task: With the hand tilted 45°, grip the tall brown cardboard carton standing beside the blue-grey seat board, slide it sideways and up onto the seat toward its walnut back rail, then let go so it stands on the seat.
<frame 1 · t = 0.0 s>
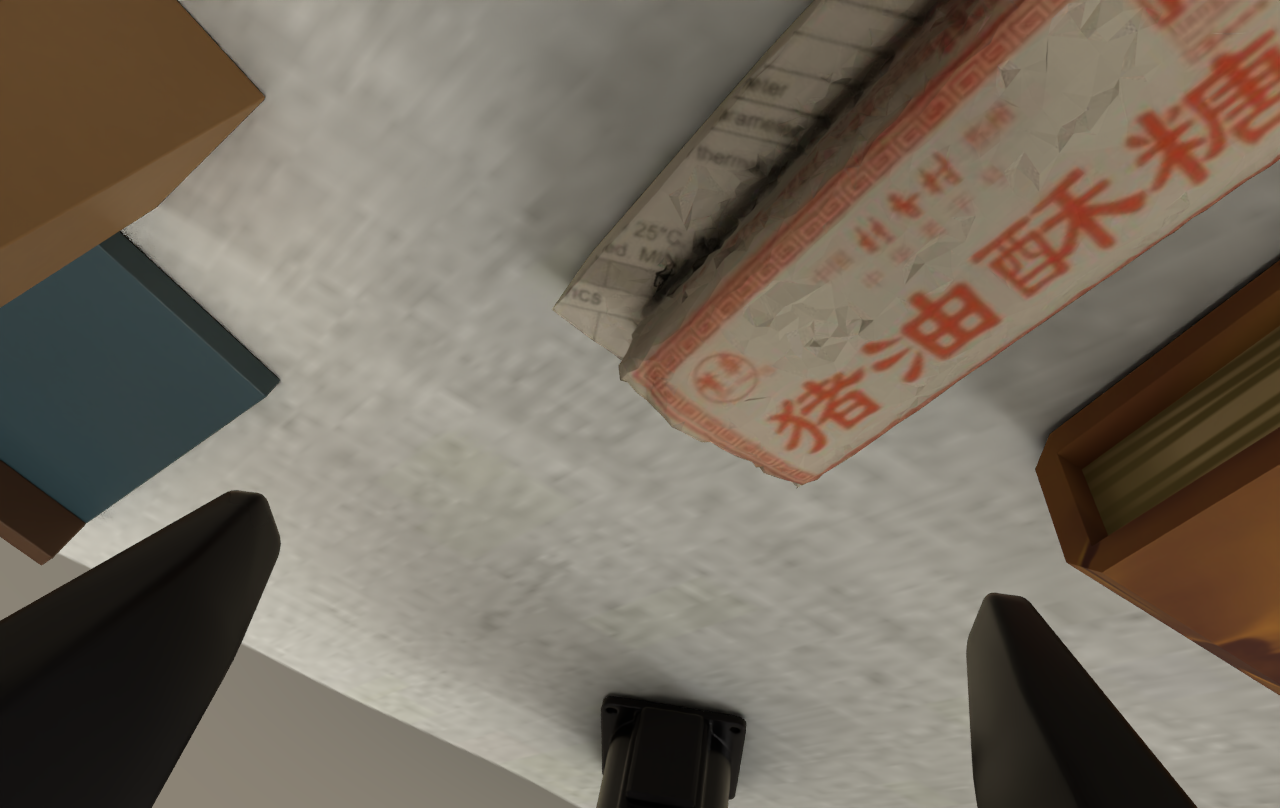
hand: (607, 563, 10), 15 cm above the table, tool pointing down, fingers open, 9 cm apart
cardboard carton: (137, 83, 23), on the table
packaged product: (906, 175, 22), on the table
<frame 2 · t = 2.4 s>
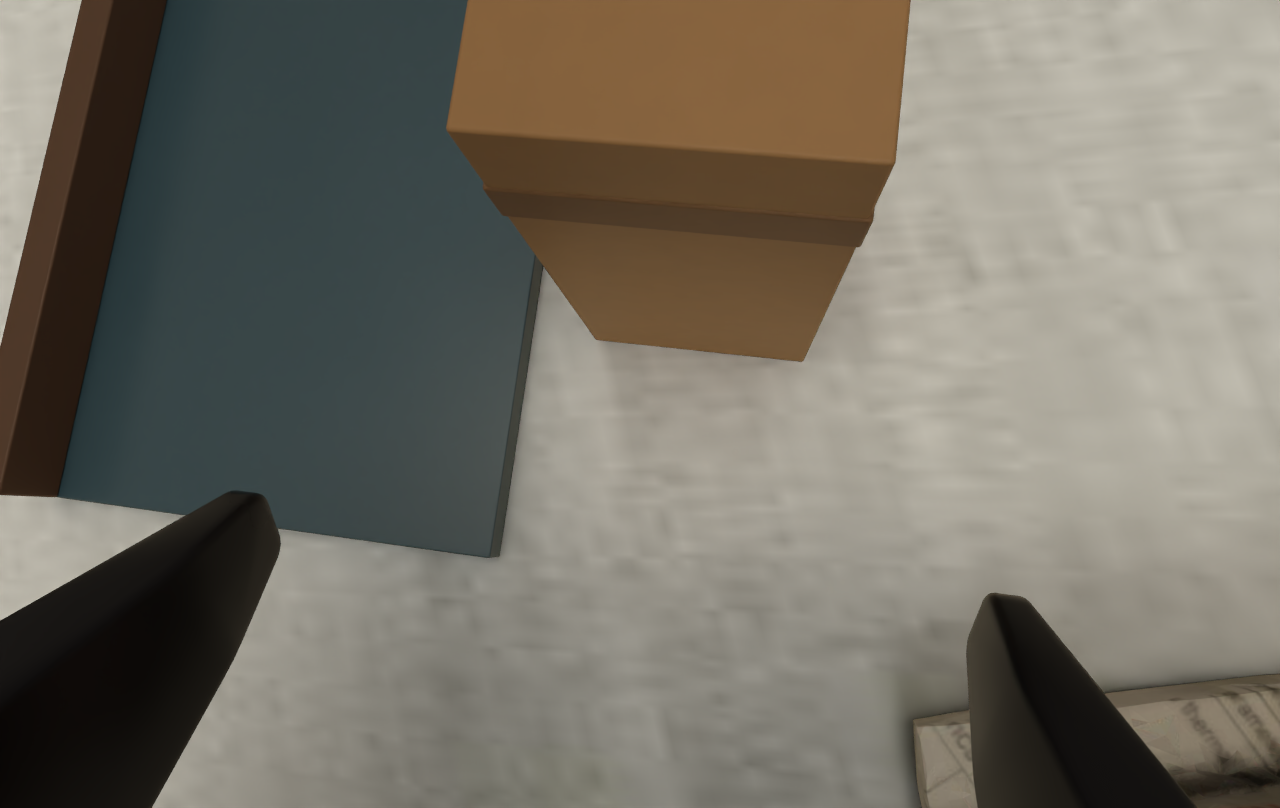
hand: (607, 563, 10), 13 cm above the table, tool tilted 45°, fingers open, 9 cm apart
cardboard carton: (708, 267, 24), on the table
seat board: (330, 200, 26), on the table
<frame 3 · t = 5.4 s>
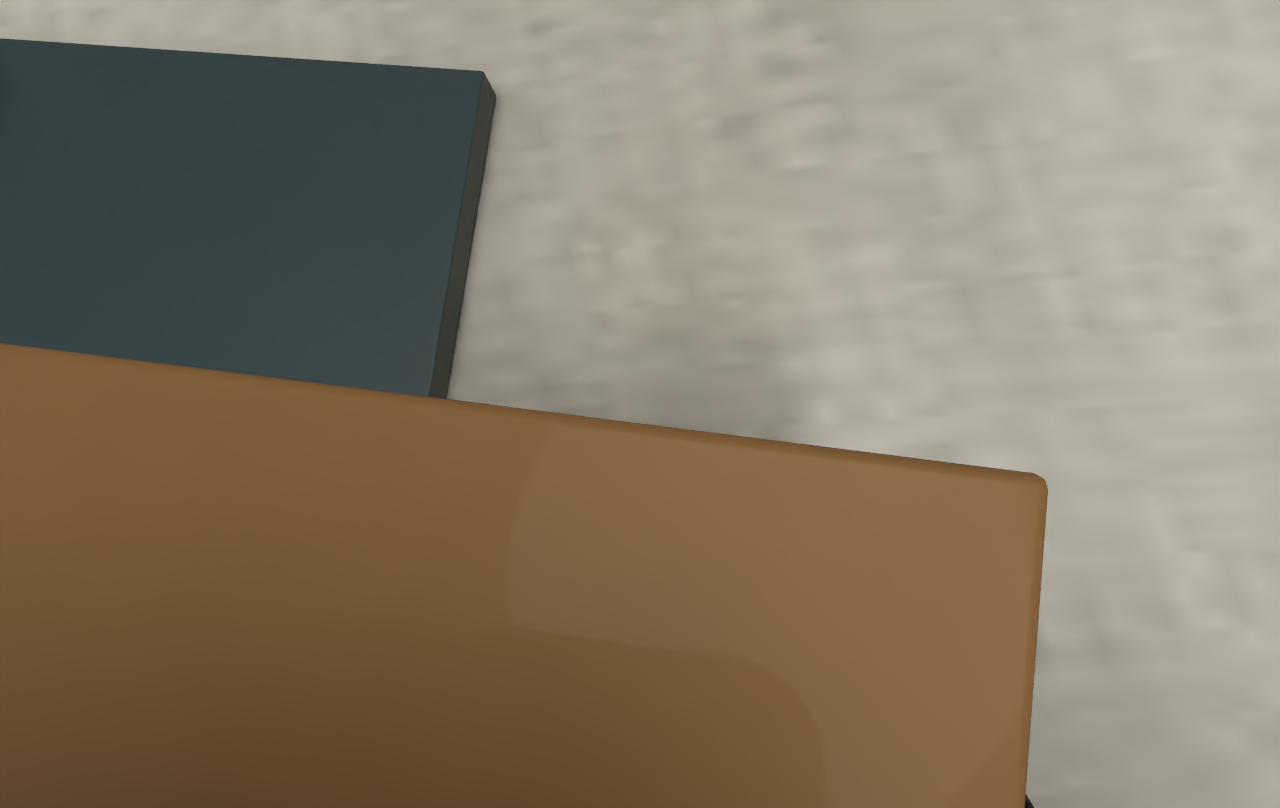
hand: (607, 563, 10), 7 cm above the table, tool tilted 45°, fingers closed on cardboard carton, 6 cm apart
cardboard carton: (647, 622, 17), on the table, touching gripper
seat board: (119, 496, 18), on the table
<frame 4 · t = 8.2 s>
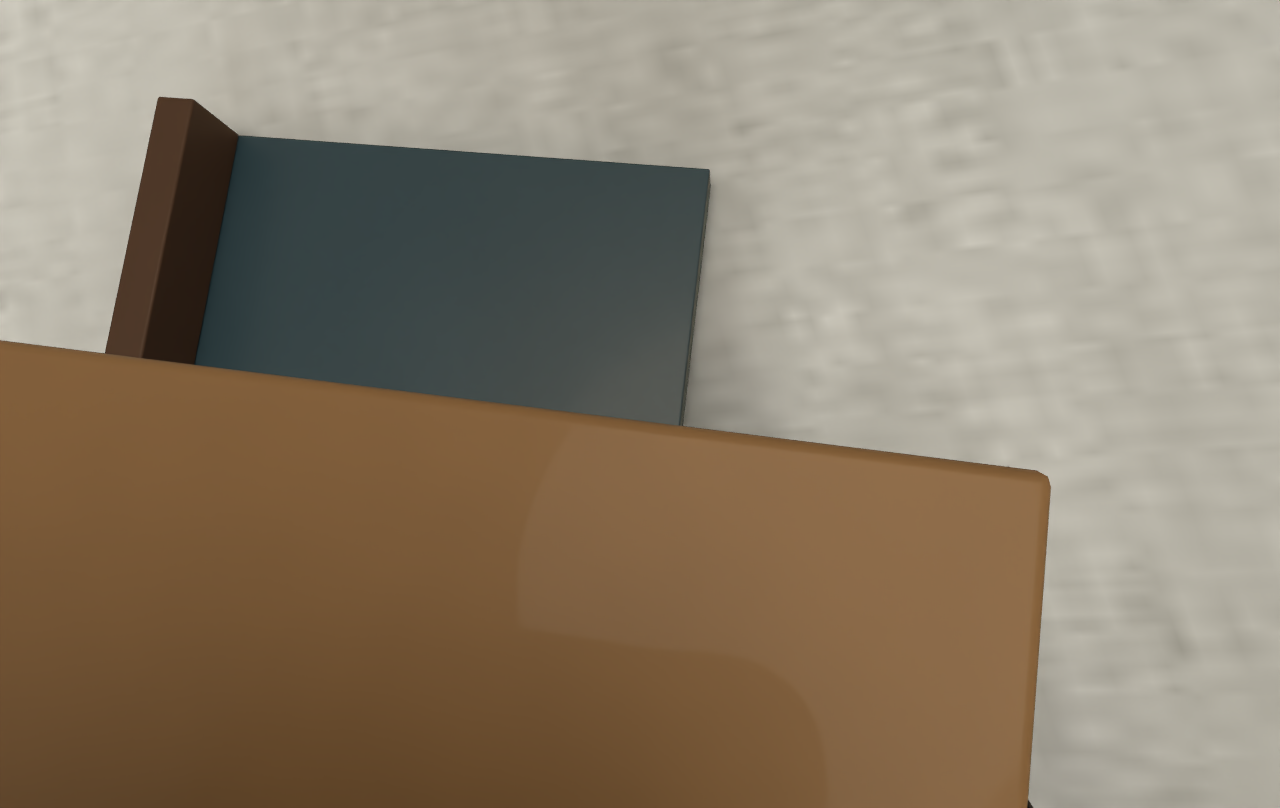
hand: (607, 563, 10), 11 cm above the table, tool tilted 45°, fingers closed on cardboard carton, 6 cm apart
cardboard carton: (649, 622, 17), point 4 cm above the table, touching gripper
seat board: (404, 525, 22), on the table
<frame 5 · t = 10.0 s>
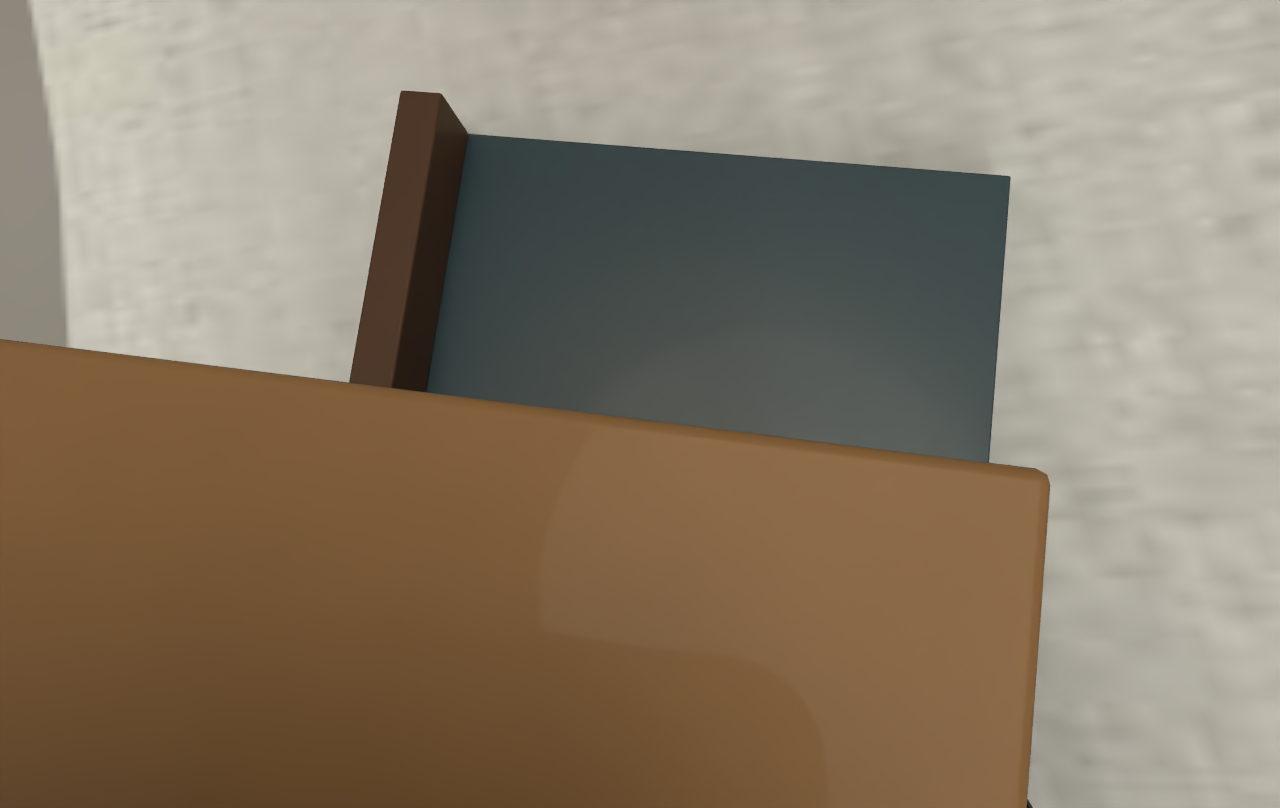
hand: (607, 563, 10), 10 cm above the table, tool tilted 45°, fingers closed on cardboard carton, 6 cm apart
cardboard carton: (648, 621, 17), point 3 cm above the table, touching gripper
seat board: (659, 568, 20), on the table
when the fingers open (8 cm above the table, at t = 11.2 s): cardboard carton stays where it is, resting on seat board.
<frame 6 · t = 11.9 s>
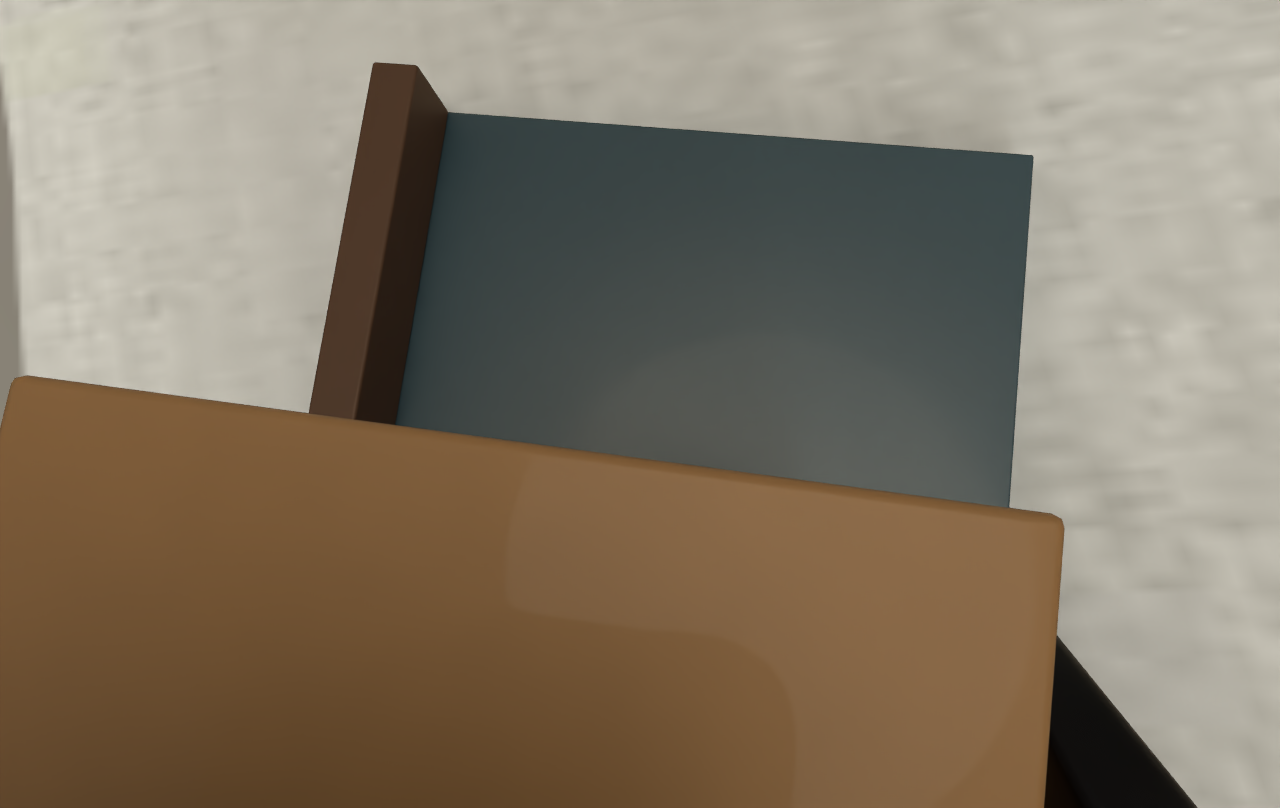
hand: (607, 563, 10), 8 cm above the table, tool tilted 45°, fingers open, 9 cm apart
cardboard carton: (649, 624, 17), point 1 cm above the table, touching seat board
seat board: (654, 580, 18), on the table
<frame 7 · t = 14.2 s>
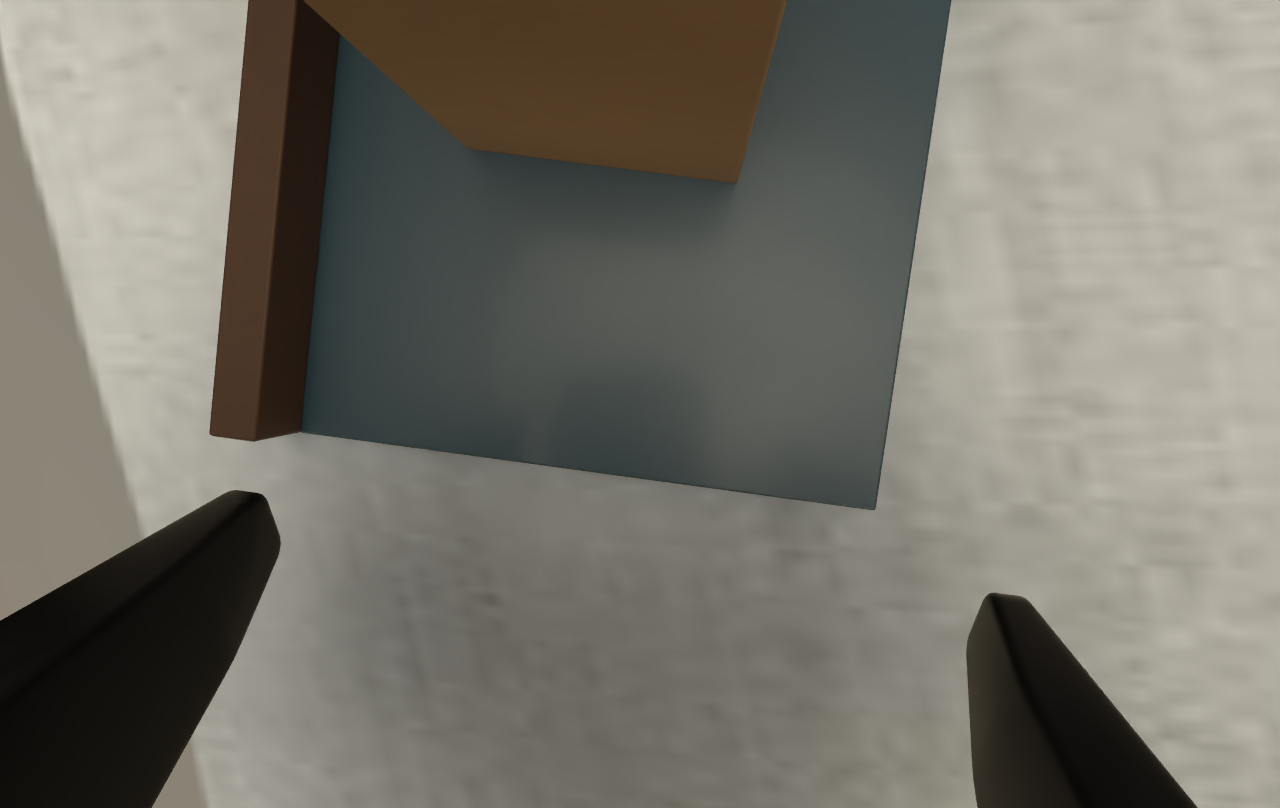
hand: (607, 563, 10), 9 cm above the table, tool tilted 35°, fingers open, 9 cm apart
cardboard carton: (615, 49, 18), point 1 cm above the table, touching seat board
seat board: (620, 28, 19), on the table
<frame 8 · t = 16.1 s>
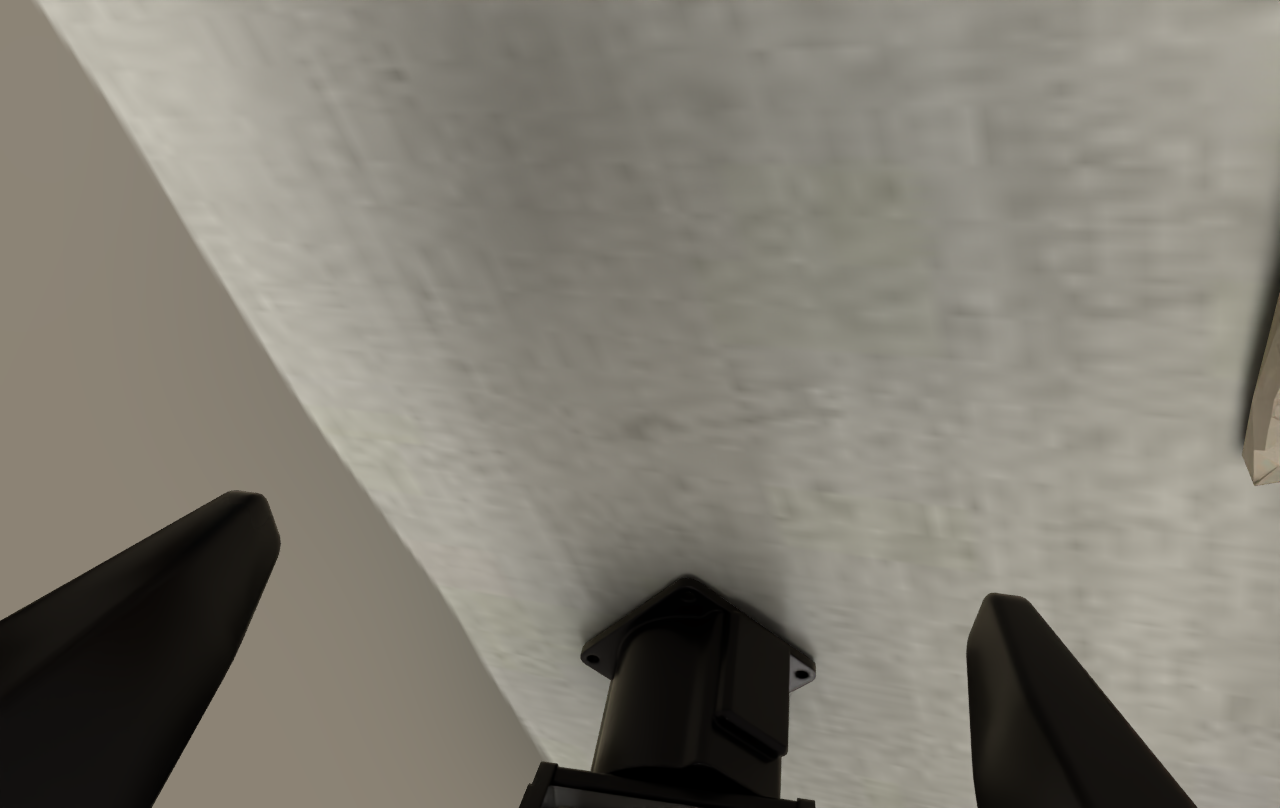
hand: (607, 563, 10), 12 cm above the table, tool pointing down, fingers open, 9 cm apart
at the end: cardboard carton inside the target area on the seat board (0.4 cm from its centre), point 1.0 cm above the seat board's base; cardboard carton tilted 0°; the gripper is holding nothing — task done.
